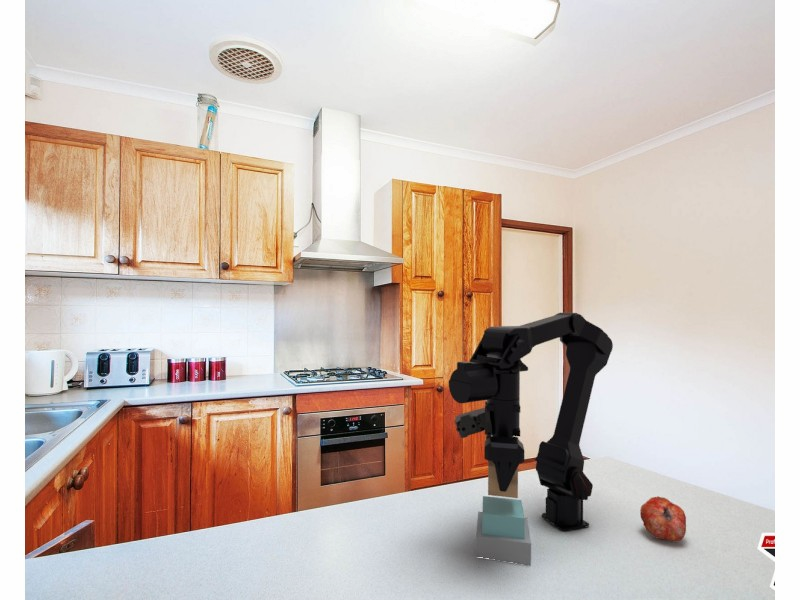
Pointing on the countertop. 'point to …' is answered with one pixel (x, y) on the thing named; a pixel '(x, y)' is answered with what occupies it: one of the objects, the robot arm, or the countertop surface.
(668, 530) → the pomegranate
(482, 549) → the slate block
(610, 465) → the countertop surface
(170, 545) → the countertop surface
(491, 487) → the walnut cube
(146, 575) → the countertop surface
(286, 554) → the countertop surface
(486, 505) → the teal block
